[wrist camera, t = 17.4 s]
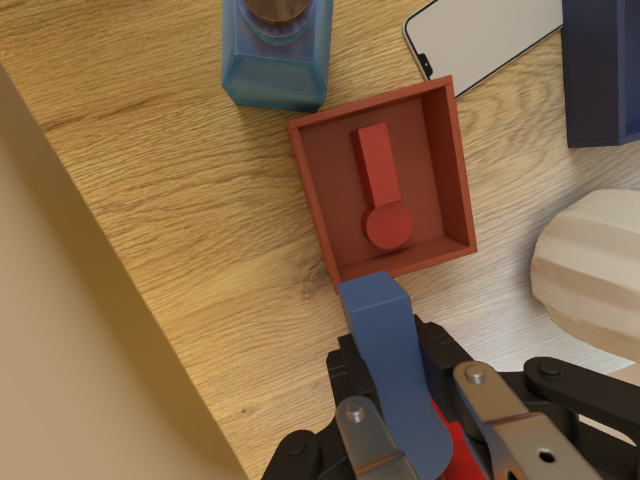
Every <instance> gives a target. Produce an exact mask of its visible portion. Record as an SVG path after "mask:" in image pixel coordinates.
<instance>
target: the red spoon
mask: <svg viewBox="0 0 640 480" xmlns="http://www.w3.org/2000/svg"><path fill="white" fill-rule="evenodd" d="M350 137H351V141H352V145H353V149H354V154H355V158H356V162H357V166H358V170H359V175H360V179H361V183H362V187H363V191H364V196H365V200H366V203H367V204H369V206H368V207H367V208H366V209H365V211H364V213H363V215H362V219H361V227H362V231H363V233H364V235H365V236H366V237H367V238H368V239H369V240H370V241H371V242H372V243H373V244H374V245H376V246H377V247H379V248H383V249H393V248H396V247H399V246H401V245H402V244H403V243H405V242H406V241H407V239H408V238H409V237H410V235H411V232H412V229H413V218H412V215H411V213H410V211H409V210H408V208H407V207H406V206H404V205H403V204H401V203H398V202H397V201H400V200H402V198H401V193H400V188H399V183H398V178H397V173H396V169H395V164H394V159H393V154H392V149H391V144H390V140H389V135H388V130H387V125H386V121H383V122H379V123H376V124H372V125H369V126H365V127H362V128H358V129H356V130H354V131H351V132H350Z"/></svg>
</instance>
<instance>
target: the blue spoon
mask: <svg viewBox="0 0 640 480" xmlns="http://www.w3.org/2000/svg"><path fill="white" fill-rule="evenodd" d="M337 289H338V292H339V296H340V300H341V304H342V307H343V311H344V315H345V319H346V322H347V326H348V330H349V334H350V333H351V335H352V337H353V340H354V342H355V345H356V347H357V350H358V352H359V355H360V357H361V359H364V360H365V362H366V365H367V367H368V370H369V372H370V374H371V377H372V379H373V382H374V384H375V386H376V389H377V393H378V397H379V401H380V405H381V409H382V413H383V417H384V421H385V425H386V427H387V429H388V431H389V433H390V434H391V436H392V438H393V440H394V442H395V444H396V446H397V448H398V449H399V451H400V450H403V451H404V452H405V454H406V455H407V457H408V459H409V461H410V463H411V464H412V466H413V468H414V470H415V472H416V474H417V475H418V477H419V479H420V480H435V479H436V478H438V477H439V476H440V475H441V474H442V473H443V471H444V470H445V469H446V467H447V466H448V464H449V462H450V460H451V457H452V452H453V442H452V437H451V434H450V432H449V430H448V429H447V427H446V426H445V424H444V422H443V421H442V419H441V418H440V416H439V415H438V413H437V411H436V410H435V408H434V407H433V405H432V403H431V398H430V394H429V392H428V387H427V382H426V377H425V373H424V368H423V363H422V358H421V353H420V348H419V343H418V342H419V340H418V335H417V331H416V326H415V321H414V316H413V311H412V306H411V301H410V297H409V294H408V293H407V292H406V291H405V290H404V289H403V288H402V287H401V286H400V285H399V284H398V283H397V282H396V281H395V280H394V279H393V278H392V277H391V276H390V275H389V274H388V273H387V272H386V271H385V270H383V271H380V272H376V273H373V274H370V275H366V276H363V277H359V278H356V279H352V280H349V281H346V282H342V283H339V284H337Z"/></svg>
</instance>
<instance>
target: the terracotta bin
mask: <svg viewBox="0 0 640 480" xmlns="http://www.w3.org/2000/svg"><path fill="white" fill-rule="evenodd" d="M452 83H453V79H452V75H447V76H444V77H440V78H437V79H433V80H429V81H426V82H422V83H419V84H415V85H412V86H408V87H404V88H401V89H397V90H394V91H390V92H387V93H383V94H380V95H376V96H372V97H369V98H365V99H362V100H358V101H355V102H351V103H348V104H344V105H340V106H337V107H333V108H330V109H326V110H323V111H319V112H316V113H312V114H308V115H305V116H301V117H298V118H294V119H291V120H287V126H286V129H287V133H288V136H289V140H290V143H291V147H292V150H293V154H294V157H295V161H296V164H297V167H298V171H299V174H300V178H301V181H302V185H303V188H304V192H305V195H306V199H307V202H308V206H309V209H310V213H311V216H312V219H313V223H314V226H315V230H316V233H317V237H318V240H319V244H320V247H321V251H322V254H323V258H324V261H325V265H326V268H327V272H328V275H329V277H330V280H331V282H332V285H333V287H334V290H335V292H336V294H337V295H339V292H338V289H337V284H339V283H342V282H346V281H349V280H352V279H356V278H359V277H363V276H366V275H370V274H373V273H376V272H380V271H383V270H385V271H386V272H387V273H388V274H389V275H390V276H391V277H392V278H394V277H398V276H401V275H404V274H407V273H411V272H414V271H417V270H420V269H423V268H427V267H430V266H433V265H436V264H440V263H443V262H446V261H449V260H453V259H456V258H459V257H462V256H466V255H469V254H472V253H475V252H477V245H476V237H475V230H474V223H473V216H472V210H471V203H470V196H469V189H468V182H467V175H466V168H465V162H464V155H463V148H462V141H461V134H460V127H459V121H458V114H457V107H456V100H455V93H454V86H453V84H452ZM383 121H386V125H387V130H388V135H389V140H390V144H391V149H392V154H393V159H394V164H395V169H396V173H397V178H398V183H399V188H400V193H401V198H402V200H400V201H397V202H398V203H401V204H403V205H404V206H406V207H407V208H408V210H409V211H410V213H411V215H412V218H413V229H412V232H411V235H410V237H409V238H408V239H407V241H406V242H405V243H403V244H402V245H401V246H399V247H396V248H393V249H383V248H379V247H377V246H376V245H374V244H373V243H372V242H371V241H370V240H369V239H368V238H367V237H366V236H365V235H364V233H363V231H362V227H361V219H362V215H363V213H364V211H365V209H366V208H367V207H368V206H369V204H367V203H366V200H365V196H364V191H363V187H362V183H361V179H360V175H359V170H358V166H357V162H356V158H355V154H354V149H353V145H352V141H351V137H350V132H351V131H354V130H356V129H358V128H362V127H365V126H369V125H372V124H376V123H379V122H383Z"/></svg>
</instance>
